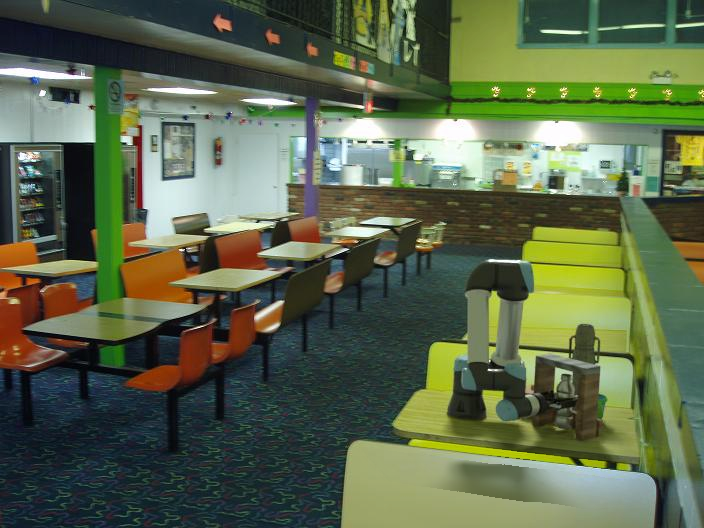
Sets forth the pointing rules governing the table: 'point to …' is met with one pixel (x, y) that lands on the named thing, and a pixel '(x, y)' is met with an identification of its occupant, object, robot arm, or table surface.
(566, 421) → the plastic bottle
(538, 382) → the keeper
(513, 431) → the table surface
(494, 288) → the robot arm
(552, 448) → the table surface
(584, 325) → the thermos
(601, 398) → the snack cup
